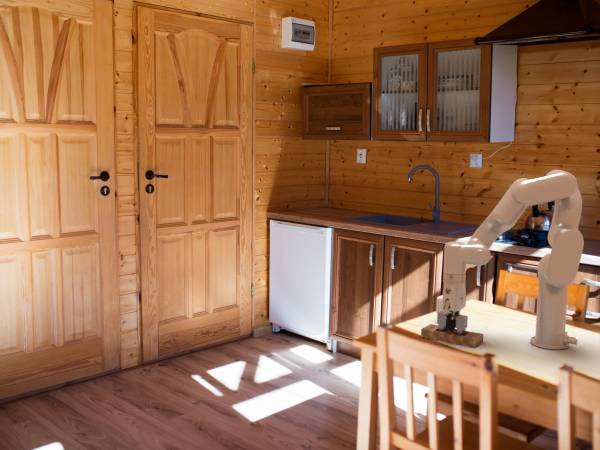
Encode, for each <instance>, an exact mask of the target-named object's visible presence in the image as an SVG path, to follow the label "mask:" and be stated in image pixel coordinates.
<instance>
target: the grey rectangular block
mask: <svg viewBox="0 0 600 450" xmlns="http://www.w3.org/2000/svg"><path fill="white" fill-rule="evenodd" d="M451 315H452V313H451ZM436 316H437V317H436V325H438V331H440V332H447V330H446V316H445V315H444V312H443V311H440V312H438V313H436ZM468 317H469V316H468V315H465V314H460V315H459V314H455V315H454V320H455V329H457V335H461V336H465V334H466V331H467V330H466V329H467V328H468V320H469V319H468Z"/></svg>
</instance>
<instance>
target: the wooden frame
mask: <svg viewBox="0 0 600 450" xmlns="http://www.w3.org/2000/svg"><path fill="white" fill-rule="evenodd" d="M420 337H421V338H423V337H425V338H424V339H428V338H429V340H435V341H440V342H442V343H443V342H444V343H449V344H454V345H459V346H462V347H463V346H464V347H468V348H473V349H475V348H477V347H478V346H480V345H482V344H483V343H484V334H483V333H479V332H474V331H469V330H466V334H465V336H461V335H457V328H455V330H454V331H451V330H447V332H440V331H438V324H431V323H430V324H428V325H426V326H424V327H423V328H421V330H420Z"/></svg>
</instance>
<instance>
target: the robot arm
mask: <svg viewBox="0 0 600 450" xmlns="http://www.w3.org/2000/svg"><path fill="white" fill-rule="evenodd" d="M550 202H554V209H553V215H552V218H551V222H550V226H549V230H548V234H547V242H548V244H549V245H550V247H551V251H550V253H547V254H545V255H544V256H542V257H541V259H540V260H539V263H538V267H537V301H536V302H537V304H536V316H535V317H536V320H535V322H536V323H535V334H534V336H532V337H530V341H529V342H530V344H531V345H532V346H535V347H538V348H542V349H545V348H546V350H565V349H567V348H569V347H570V344H571V345H575V346H577V345H578V342H579V341H578V339H577V338H576V337H574V336H573V337H572V336H569V335H568V332H569V331H566V324H567V322H566V321H567V311H568V310H567V308H568V306H567V305H568V296H569V295H568V292H569V290H568V289H569V288H568V286H570V285H571V284H573V283H574V280H575V279H576V277H577V274H578V271H579V267H580V263H581V259H582V254H583V250H584V245H585V244H584V243H585V242H584V236H583V235H582V233H581V231H580V230H579V225H580V220H581V215H582V210H583V198H582V193H581V191H580V189H579V187H578V179H577V178H576V177H575V175H574V174H572V173H570V172H568V171H565V170H561V169H553V170H550V171H549V172H547V173H546V174H545V176H542V177H538V178H537V177H536V178H526V177H524V178H523V177H522V178H518V179H516V180H515V181H514V182H513V183H512V184H511V185H510V187H509V188H508V189H507V190H506V191H505V194H504V195H502V197H501V199H500V201H499V202H498V203H497V204H496V205H495V207H494V209H493V210H492V211H491V212H490V214H488V216H487V217H486V218H485V219H484V220H483V222H482V223H481V224H480V225H479V226H478V227H477V229H476V230H475V231H474V233H473V234H472V236H471V237H470V238H469V239H468V241H467V243H464V242H461V241H448V242H445V244H444V250H443V251H444V253H443V275H442V276H443V278H442V279H443V280H442V282H443V283H444V284H443V290H442V295H443V301H442V307H443V310H444V315H445V316H446V330H451V331H454V330H455V329H456V328H455V320H454V315H455V314H459V315H461V310H462V309H464V308H465V307H466V304H467V303H466V302H467V296H466V295H467V290H466V279H467V278H466V277H467V276H466V273H467V272H466V271H467V265H472V266H476V267H477V266H479V267H480V266H484V265H486V264H488V263H489V261H490V259H491V250H490V248H491V246H493V244H494V243H495V241H496V240H497V239H498V238H499V237H500V236H501V235H502V234H503V233H505V232H507V231H509V230H511V228H512V229H513V227H514V226H515V225H516V223H517V222H518V220H519V219H520V218H521V216H522V215H523V213H524V212H525V211H526V209H527V208H528V207H531V206H537V205H542V204H545V203H550ZM449 309H451V310H449ZM449 312H451V313H452V315H451V313H449Z"/></svg>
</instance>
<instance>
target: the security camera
mask: <svg viewBox="0 0 600 450" xmlns="http://www.w3.org/2000/svg"><path fill="white" fill-rule="evenodd" d="M442 301H443V294H442V295H440V296H439V295H438V296H437V297H436V306H435V307H436V309H435V313H436V314H437V313H438V312H440V311H443V312H444V310H443V307H442ZM449 310H451V309H449ZM449 313H451V312H449Z"/></svg>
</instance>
